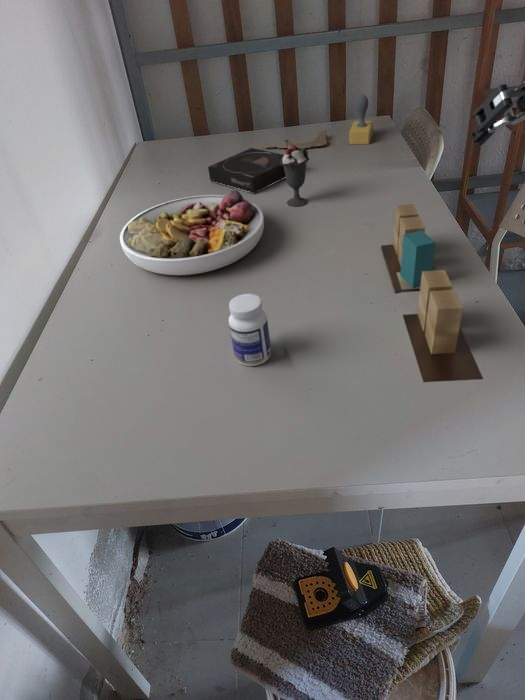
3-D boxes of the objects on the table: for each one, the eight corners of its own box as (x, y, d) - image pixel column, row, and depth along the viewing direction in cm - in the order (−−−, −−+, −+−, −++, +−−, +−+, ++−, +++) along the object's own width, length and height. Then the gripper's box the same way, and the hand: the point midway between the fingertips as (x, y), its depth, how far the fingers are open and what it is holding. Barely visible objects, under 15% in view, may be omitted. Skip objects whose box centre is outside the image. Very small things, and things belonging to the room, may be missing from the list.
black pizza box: (298, 171, 138) (297, 156, 136) (254, 194, 129) (252, 178, 127) (254, 161, 148) (253, 147, 145) (210, 181, 139) (208, 166, 136)
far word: (421, 244, 102) (426, 202, 96) (443, 292, 88) (449, 247, 83) (380, 247, 102) (382, 206, 97) (395, 295, 89) (398, 250, 83)
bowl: (186, 300, 94) (177, 262, 89) (99, 255, 112) (87, 221, 107) (294, 235, 110) (292, 200, 105) (203, 204, 127) (197, 173, 122)
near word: (452, 314, 83) (460, 267, 78) (482, 382, 71) (494, 332, 65) (402, 317, 84) (406, 271, 78) (422, 385, 71) (429, 336, 66)
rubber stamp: (369, 144, 149) (370, 99, 142) (349, 144, 151) (349, 100, 143) (372, 133, 156) (374, 90, 149) (353, 133, 158) (354, 90, 150)
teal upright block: (417, 271, 93) (421, 230, 88) (430, 283, 89) (435, 241, 84) (400, 275, 92) (403, 234, 87) (412, 288, 89) (416, 246, 84)
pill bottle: (251, 339, 83) (243, 287, 77) (279, 351, 80) (273, 298, 74) (227, 359, 80) (217, 306, 74) (255, 372, 77) (247, 318, 71)
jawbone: (337, 146, 152) (337, 139, 150) (270, 160, 149) (269, 153, 148) (326, 135, 158) (326, 128, 157) (262, 148, 155) (261, 141, 154)
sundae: (279, 207, 121) (274, 142, 112) (287, 196, 126) (283, 132, 117) (306, 209, 119) (303, 142, 110) (314, 197, 124) (311, 132, 115)
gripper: (640, 5, 55) (542, 98, 71) (521, 26, 53) (447, 117, 69) (664, 69, 54) (559, 149, 70) (544, 93, 52) (464, 169, 68)
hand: (504, 133), depth 69 cm, fingers open, 8 cm apart
